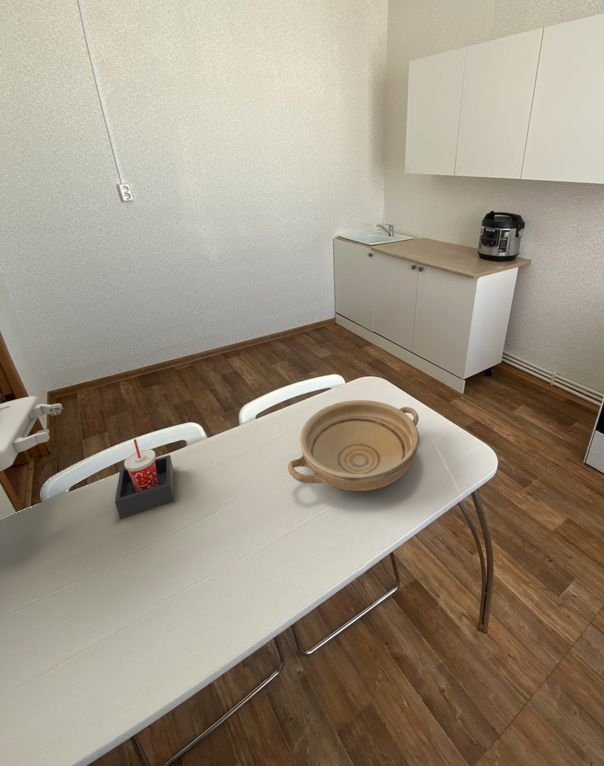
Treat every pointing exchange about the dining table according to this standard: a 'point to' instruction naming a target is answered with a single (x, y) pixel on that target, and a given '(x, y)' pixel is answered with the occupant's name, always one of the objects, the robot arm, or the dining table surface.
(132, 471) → the beverage cup
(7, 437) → the robot arm
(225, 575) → the dining table surface
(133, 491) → the case
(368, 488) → the ceramic bowl
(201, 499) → the dining table surface
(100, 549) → the dining table surface
